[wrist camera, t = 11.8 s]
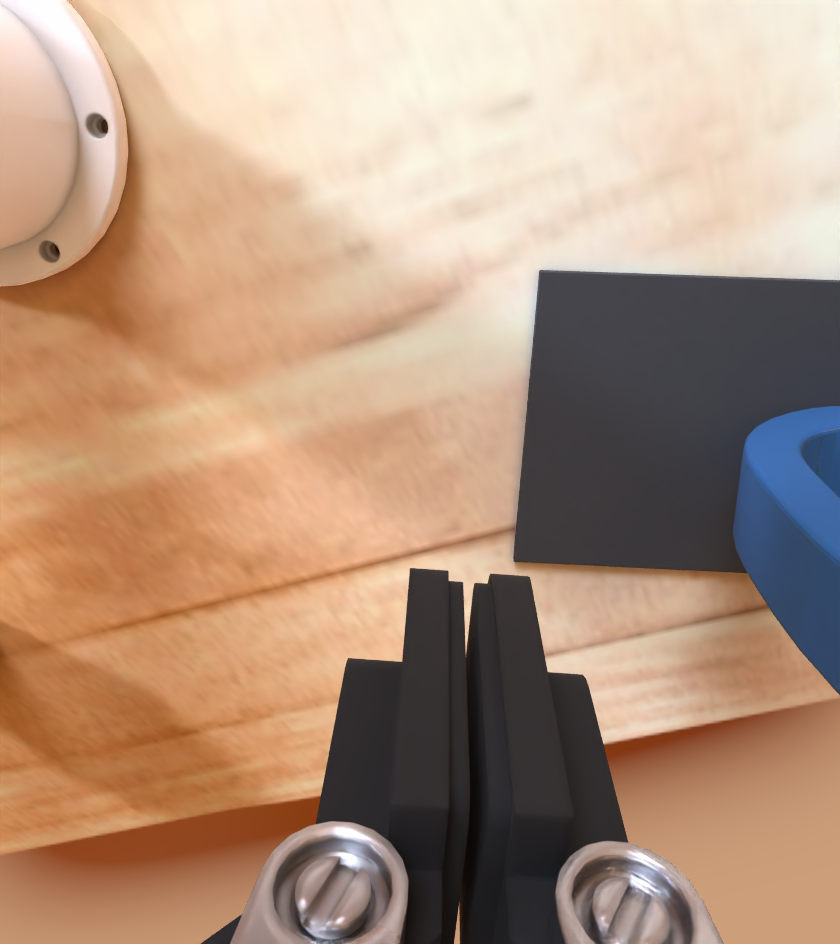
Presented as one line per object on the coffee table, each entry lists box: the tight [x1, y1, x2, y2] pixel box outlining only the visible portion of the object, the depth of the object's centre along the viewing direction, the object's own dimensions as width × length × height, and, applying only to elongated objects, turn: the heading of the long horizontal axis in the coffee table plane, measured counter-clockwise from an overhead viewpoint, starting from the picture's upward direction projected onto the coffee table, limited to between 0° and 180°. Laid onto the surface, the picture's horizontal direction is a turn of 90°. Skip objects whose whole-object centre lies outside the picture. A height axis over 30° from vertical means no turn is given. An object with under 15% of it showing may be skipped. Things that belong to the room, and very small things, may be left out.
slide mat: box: [513, 270, 840, 573], centre depth 33 cm, size 28×14×1 cm, turn 89°
